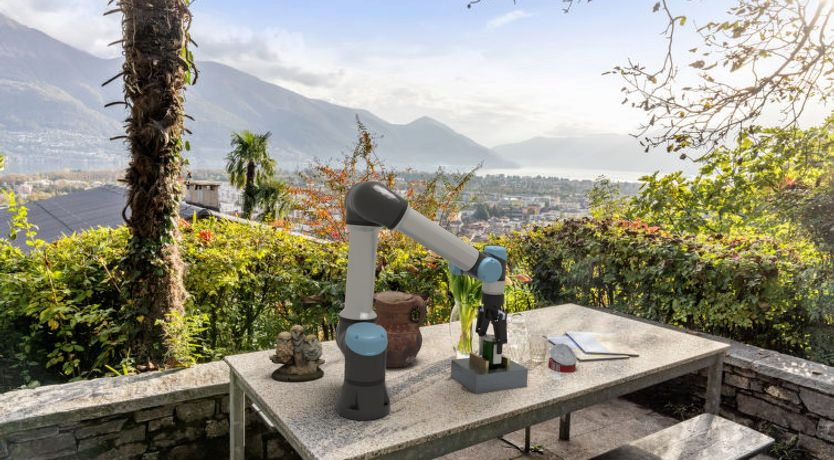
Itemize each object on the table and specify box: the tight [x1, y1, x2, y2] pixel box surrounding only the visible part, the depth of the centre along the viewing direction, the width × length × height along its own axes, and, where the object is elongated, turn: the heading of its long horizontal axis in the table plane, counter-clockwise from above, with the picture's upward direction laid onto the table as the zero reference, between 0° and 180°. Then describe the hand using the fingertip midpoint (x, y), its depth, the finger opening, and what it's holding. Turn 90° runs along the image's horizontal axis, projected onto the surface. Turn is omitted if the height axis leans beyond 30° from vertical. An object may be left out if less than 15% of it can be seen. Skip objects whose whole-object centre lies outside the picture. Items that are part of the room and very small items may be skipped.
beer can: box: [482, 333, 497, 370], centre depth 167 cm, size 5×5×12 cm
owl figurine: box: [268, 324, 326, 383], centre depth 163 cm, size 18×12×17 cm, turn 108°
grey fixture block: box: [450, 351, 529, 395], centre depth 168 cm, size 23×18×9 cm
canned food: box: [547, 343, 578, 374], centre depth 185 cm, size 11×10×10 cm
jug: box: [373, 290, 428, 368], centre depth 182 cm, size 22×21×25 cm
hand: (489, 359), depth 167 cm, fingers open, 8 cm apart
